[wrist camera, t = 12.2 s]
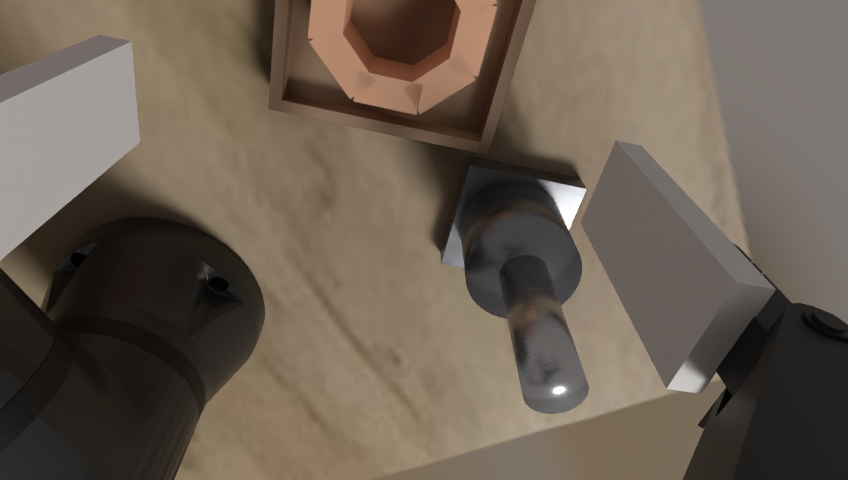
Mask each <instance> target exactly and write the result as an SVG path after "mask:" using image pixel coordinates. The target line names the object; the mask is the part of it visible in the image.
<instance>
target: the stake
mask: <svg viewBox="0 0 848 480" xmlns="http://www.w3.org/2000/svg"><path fill="white" fill-rule="evenodd" d="M585 192H586V187H585V185H584V184H583V182H582V180H581V179H578V178H573V177H569V176H564V175H559V174H554V173H549V172H545V171H540V170H535V169H530V168H525V167H521V166H516V165H511V164H506V163H501V162H497V161H492V160H487V159H482V158H477V157H473V156H468V159H467V163H466V166H465V169H464V173H463V176H462V180H461V183H460V187H459V190H458V194H457V197H456V200H455V204H454V207H453V211H452V214H451V218H450V221H449V225H448V228H447V232H446V235H445V238H444V242H443V245H442V249H441V252H440V254H441V264H444V265H449V266H455V267H460V268H464V269H465V277H466V284H467V288H468V291H469V293H470V295H471V297H472V299H473V300H474V301H475V302H476V303H477V305H479V306H480V307H481V308H482V309H484V310H485V311H487V312H489V313H491V314H493V315H496V316H498V317H502V318H507V321H508V326H509V330H510V335H511V340H512V345H513V350H514V355H515V360H516V364H517V369H518V374H519V379H520V384H521V389H522V394H523V398H524V401H525V403H526V404H527V405H528V406H529V407H530V408H531V409H533V410H535V411H538V412H541V413H547V414H555V413H562V412H566V411H569V410H571V409H573V408H575V407H577V406H578V405H579V404H581V403H582V402H583V401H584V399H585V398H586V396H587V394H588V390H589V387H588V383H587V380H586V377H585V374H584V371H583V368H582V365H581V362H580V360H579V357H578V354H577V351H576V348H575V345H574V342H573V339H572V336H571V334H570V331H569V328H568V325H567V322H566V319H565V316H564V313H563V311H562V308H561V305H562V304H563V303H564V302H566V301H567V300H568V299H569V298H570V297H571V295H572V294H573V293H574V291H575V290H576V288H577V286H578V284H579V281H580V278H581V274H582V261H581V258H580V254H579V252H578V250H577V248H576V246H575V243H574V241H573V239H572V237H571V235H570V232H569V228H570V226H571V224H572V221H573V219H574V217H575V215H576V212H577V210H578V208H579V205H580V203H581V201H582V199H583V196H584V194H585Z"/></svg>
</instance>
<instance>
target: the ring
mask: <svg viewBox="0 0 848 480" xmlns="http://www.w3.org/2000/svg"><path fill="white" fill-rule="evenodd" d="M455 1H456V7H455V11H454V16H453V20H452V24H451V28H450V33H449V37H448V41H447V44H445V45H444V46H442V47H441V48H439V49H438V50H436V51H434V52H433V53H431V54H430V55H428V56H427V57H425V58H424V59H422V60H421V61H419V62H418V63H416V64H415V65H409V64H405V63H400V62H396V61H392V60H387V59H383V58H378V57H374V55H373V54H372V52H371V51H370V49H369V48H368V46H367V45H366V43H365V42H364V40H363V39H362V37H361V36H360V34H359V33H358V31H357V30H356V28H355V27H354V25H353V24H352V22H351V13H352V6H353V0H311V10H310V20H309V30H308V38H311V40H310V41H309V43H310V44H311V46H312V47H313V48H314V50H315V51H316V53H317V54H318V55H319V57H320V58H321V60H322V61H323V62H324V64H325V65H326V66H327V68H328V69H329V71H330V72H331V73H332V75H333V76H334V78H335V79H336V80H337V82H338V83H339V85H340V86H341V87H342V89H343V90H344V91H345V93H346V94H347V96H348V97H349V98H350V99H351V98H353V97H354V102H359V103H363V104H368V105H372V106H377V107H382V108H386V109H391V110H396V111H400V112H405V113H410V114H414V115H417V110H418V112H419V113H420V114H421V113H423V112H425V111H426V110H428V109H430V108H431V107H433V106H434V105H436V104H438V103H439V102H441V101H442V100H444V99H446V98H447V97H449V96H451V95H452V94H454V93H455V92H457V91H459V90H460V89H462V88H463V87H465V86H467V85H468V84H470V83H472V82H473V81H475V76H477V77H478V75H479V72H480V68H481V64H482V61H483V57H484V54H485V50H486V46H487V43H488V39H489V35H490V32H491V28H492V25H493V21H494V17H495V14H496V10H497V6H496V4H495V3H497V1H496V0H455Z"/></svg>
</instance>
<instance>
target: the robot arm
mask: <svg viewBox="0 0 848 480" xmlns="http://www.w3.org/2000/svg"><path fill="white" fill-rule="evenodd" d="M139 142H140V137H139V126H138V114H137V102H136V91H135V79H134V67H133V56H132V44H131V41H127V40H122V39H117V38H112V37H107V36H102V35H98V36H95V37H93V38H90V39H88V40H85V41H83V42H81V43H78V44H76V45H73V46H71V47H68V48H66V49H63V50H61V51H58V52H56V53H53V54H51V55H48V56H46V57H43V58H41V59H38V60H36V61H33V62H31V63H28V64H26V65H23V66H21V67H18V68H16V69H13V70H11V71H8V72H6V73H3V74H1V75H0V260H1V259H3V258H4V257H5V256H6V255H7V254H8V253H10V252H11V251H12V250H13V249H14V248H16V247H17V246H18V245H19V244H20V243H21V242H23V241H24V240H25V239H26V238H27V237H29V236H30V235H31V234H32V233H33V232H34V231H36V230H37V229H38V228H39V227H40V226H42V225H43V224H44V223H45V222H46V221H47V220H49V219H50V218H51V217H52V216H53V215H54V214H56V213H57V212H58V211H59V210H60V209H62V208H63V207H64V206H65V205H66V204H67V203H69V202H70V201H71V200H72V199H73V198H75V197H76V196H77V195H78V194H79V193H80V192H82V191H83V190H84V189H85V188H86V187H88V186H89V185H90V184H91V183H92V182H93V181H95V180H96V179H97V178H98V177H99V176H101V175H102V174H103V173H104V172H105V171H106V170H108V169H109V168H110V167H111V166H112V165H114V164H115V163H116V162H117V161H118V160H119V159H121V158H122V157H123V156H124V155H125V154H127V153H128V152H129V151H130V150H131V149H132V148H134V147H135V146H136V145H137V144H138V143H139ZM581 224H582V226H583V228H584V230H585V232H586V234H587V236H588V238H589V240H590V242H591V244H592V246H593V248H594V250H595V252H596V253H597V255H598V257H599V259H600V261H601V263H602V265H603V267H604V269H605V271H606V273H607V275H608V277H609V279H610V281H611V282H612V284H613V286H614V288H615V290H616V292H617V294H618V296H619V298H620V300H621V302H622V304H623V306H624V308H625V310H626V311H627V313H628V315H629V317H630V319H631V321H632V323H633V325H634V327H635V329H636V331H637V333H638V335H639V337H640V339H641V340H642V342H643V344H644V346H645V348H646V350H647V352H648V354H649V356H650V358H651V360H652V362H653V364H654V366H655V367H656V369H657V371H658V373H659V375H660V377H661V379H662V381H663V383H664V385H665V387H666V389H672V390H679V391H686V392H693V393H700V394H701V393H702V391H703V390H704V389H705V387H706V386H707V385H708V383H709V382H710V380H711V379H712V378H713V376H714V375H715V373H716V372H717V373H718V375H719V376H720V378H721V379H722V381H723V383H724V384H725V386H726V388H725V389H724V391H723V392H722V393H721V395H720V396H719V398H718V399H717V400H716V401H715V403H714V404H713V405H712V407H711V408H710V409H709V411H708V412H707V413H706V415H705V416H704V418H703V419H702V420H701V421H700V423H699V424H698V426H700V427H701V428H704V427H705V428H704V430H703V433H702V435H701V438H700V440H699V442H698V445H697V447H696V449H695V452H694V454H693V457H692V459H691V461H690V464H689V466H688V468H687V471H686V473H685V476H684V478H683V480H848V325H847V324H846V323H845V322H843V321H842V320H840V319H839V318H838V317H836V316H834V315H833V314H830V313H828V312H826V311H823V310H821V309H818V308H816V307H814V306H810V305H805V304H801V303H791V302H790V301H789V300H788V299H787V298H786V297H785V295H784V294H783V293H782V292H781V291H780V290H779V289H778V288H777V287H776V286H775V285H774V284H773V283H772V282H771V281H770V280H769V279H768V278H767V276H766V275H764V274H762V271H761V270H760V269H759V268H758V267H757V266H756V265H755V264H754V263H751V260H750V258H749V257H748V256H747V255H746V254H745V253H744V252H743V251H742V250H741V249H740V248H739V247H738V246H736V245H735V244H734V243H732V242H731V241H730V240H729V239H728V238H727V237H726V236H725V235H724V234H723V232H722V231H721V230H720V229H719V228H718V227H717V226H716V225H715V224H714V223H713V222H712V221H711V220H710V219H709V218H708V216H707V215H706V214H705V213H704V212H703V211H702V210H701V209H700V208H699V207H698V206H697V205H696V204H695V203H694V202H693V200H692V199H691V198H690V197H689V196H688V195H687V194H686V193H685V192H684V191H683V190H682V189H681V188H680V187H679V186H678V184H677V183H676V182H675V181H674V180H673V179H672V178H671V177H670V176H669V175H668V174H667V173H666V172H665V171H664V170H663V168H662V167H661V166H660V165H659V164H658V163H657V162H656V161H655V160H654V159H653V158H652V157H651V156H650V155H649V154H648V152H647V151H646V150H645V149H644V148H643V147H642V146H640V145H636V144H631V143H626V142H621V141H615V144H614V146H613V148H612V151H611V153H610V155H609V158H608V160H607V162H606V165H605V167H604V169H603V172H602V174H601V176H600V179H599V181H598V183H597V186H596V188H595V190H594V193H593V195H592V197H591V199H590V202H589V204H588V206H587V209H586V211H585V213H584V216H583V218H582V220H581ZM264 318H265V307H264V300H263V296H262V293H261V290H260V288H259V286H258V284H257V282H256V280H255V278H254V277H253V275H252V273H251V272H250V271H249V269H248V268H247V267H246V266H245V264H244V263H243V262H242V261H241V260H240V259H239V258H238V257H237V256H236V255H235V254H234V253H232V252H231V251H230V250H229V249H228V248H226V247H225V246H224V245H222V244H221V243H219V242H218V241H216V240H214V239H213V238H211V237H209V236H207V235H206V234H204V233H201V232H199V231H197V230H195V229H192V228H190V227H187V226H184V225H181V224H178V223H174V222H170V221H165V220H159V219H149V218H131V219H123V220H117V221H113V222H109V223H106V224H104V225H101V226H99V227H97V228H95V229H93V230H91V231H90V232H89V233H87V234H86V235H85V236H83V237H82V238H81V239H80V240H79V241H78V242H77V243H76V244H75V245H74V246H73V247H72V248H71V249H70V250H69V251H68V252H67V253H66V254H65V255H64V256H63V258H62V259H61V260H60V262H59V263H58V265H57V267H56V268H55V270H54V273H53V275H52V278H51V280H50V283H49V286H48V289H47V292H46V294H45V297H44V300H43V303H42V306H41V308H39V307H38V306H37V305H36V304H35V303H34V302H33V301H32V300H31V299H30V298H29V297H28V296H27V295H26V294H25V293H24V292H23V291H22V289H21V288H20V287H19V286H18V285H17V284H16V283H15V282H14V281H13V280H12V279H11V278H10V277H9V276H8V275H7V274H6V273H5V272H4V271H3V270H2V269H1V268H0V480H174V479H175V476H176V474H177V471H178V469H179V466H180V464H181V462H182V459H183V457H184V454H185V452H186V449H187V447H188V445H189V442H190V440H191V437H192V435H193V432H194V430H195V427H196V425H197V422H198V420H199V418H200V415H201V413H202V411H203V409H204V407H205V405H206V404H207V402H208V401H209V400H210V399H211V398H212V397H213V396H214V395H215V394H216V393H217V392H218V391H219V390H220V389H221V388H222V387H223V386H224V385H225V384H226V383H227V382H228V381H229V379H230V378H231V377H232V376H233V375H234V374H235V373H236V372H237V371H238V370H239V369H240V368H241V367H242V366H243V365H244V364H245V362H246V361H247V360H248V359H249V357H250V355H251V354H252V352H253V350H254V348H255V346H256V343H257V341H258V338H259V335H260V333H261V330H262V327H263V324H264Z"/></svg>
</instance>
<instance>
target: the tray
mask: <svg viewBox="0 0 848 480" xmlns="http://www.w3.org/2000/svg"><path fill="white" fill-rule="evenodd" d="M496 1H497V3H495V4H496V6H497V10H496V14H495V17H494V21H493V25H492V28H491V32H490V35H489V39H488V43H487V46H486V50H485V54H484V57H483V61H482V64H481V68H480V72H479V75H478V77H477V76H475V81H473V82H472V83H470V84H468V85H467V86H465V87H463V88H462V89H460V90H459V91H457V92H455V93H454V94H452V95H451V96H449V97H447V98H446V99H444V100H442V101H441V102H439V103H438V104H436V105H434V106H433V107H431V108H430V109H428V110H426V111H425V112H423V113H421V114H420V113H419V112H418V110H417V115H414V114H410V113H405V112H400V111H396V110H391V109H386V108H382V107H377V106H372V105H368V104H363V103H359V102H354V97H353V98H351V99H350V98H349V97H348V96H347V94H346V93H345V91H344V90H343V89H342V87H341V86H340V85H339V83H338V82H337V80H336V79H335V78H334V76H333V75H332V73H331V72H330V71H329V69H328V68H327V66H326V65H325V64H324V62H323V61H322V60H321V58H320V57H319V55H318V54H317V53H316V51H315V50H314V48H313V47H312V46H311V44H310V43H309V41H310V40H311V38H308V30H309V20H310V10H311V0H275V14H274V30H273V46H272V61H271V77H270V92H269V108H268V109H270V110H275V111H280V112H285V113H289V114H294V115H299V116H304V117H308V118H313V119H318V120H323V121H328V122H332V123H337V124H342V125H347V126H351V127H356V128H361V129H366V130H370V131H375V132H380V133H385V134H390V135H394V136H399V137H404V138H409V139H413V140H418V141H423V142H428V143H432V144H437V145H442V146H447V147H452V148H456V149H461V150H466V151H471V152H475V153H480V154H485V155H488V154H489V151H490V147H491V144H492V141H493V138H494V135H495V131H496V128H497V125H498V122H499V118H500V115H501V112H502V109H503V106H504V102H505V99H506V96H507V93H508V90H509V86H510V83H511V80H512V77H513V74H514V70H515V67H516V64H517V61H518V58H519V54H520V51H521V48H522V45H523V41H524V38H525V35H526V32H527V29H528V25H529V22H530V19H531V16H532V13H533V9H534V6H535V3H536V0H496ZM455 7H456V1H455V0H353V6H352V13H351V22H352V24H353V25H354V27H355V28H356V30H357V31H358V33H359V34H360V36H361V37H362V39H363V40H364V42H365V43H366V45H367V46H368V48H369V49H370V51H371V52H372V54H373V55H374V57H378V58H383V59H387V60H392V61H396V62H400V63H405V64H409V65H415V64H416V63H418V62H419V61H421V60H422V59H424V58H425V57H427V56H428V55H430V54H431V53H433V52H434V51H436V50H438V49H439V48H441V47H442V46H444V45H445V44H447V41H448V37H449V33H450V28H451V24H452V20H453V16H454V11H455Z"/></svg>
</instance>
